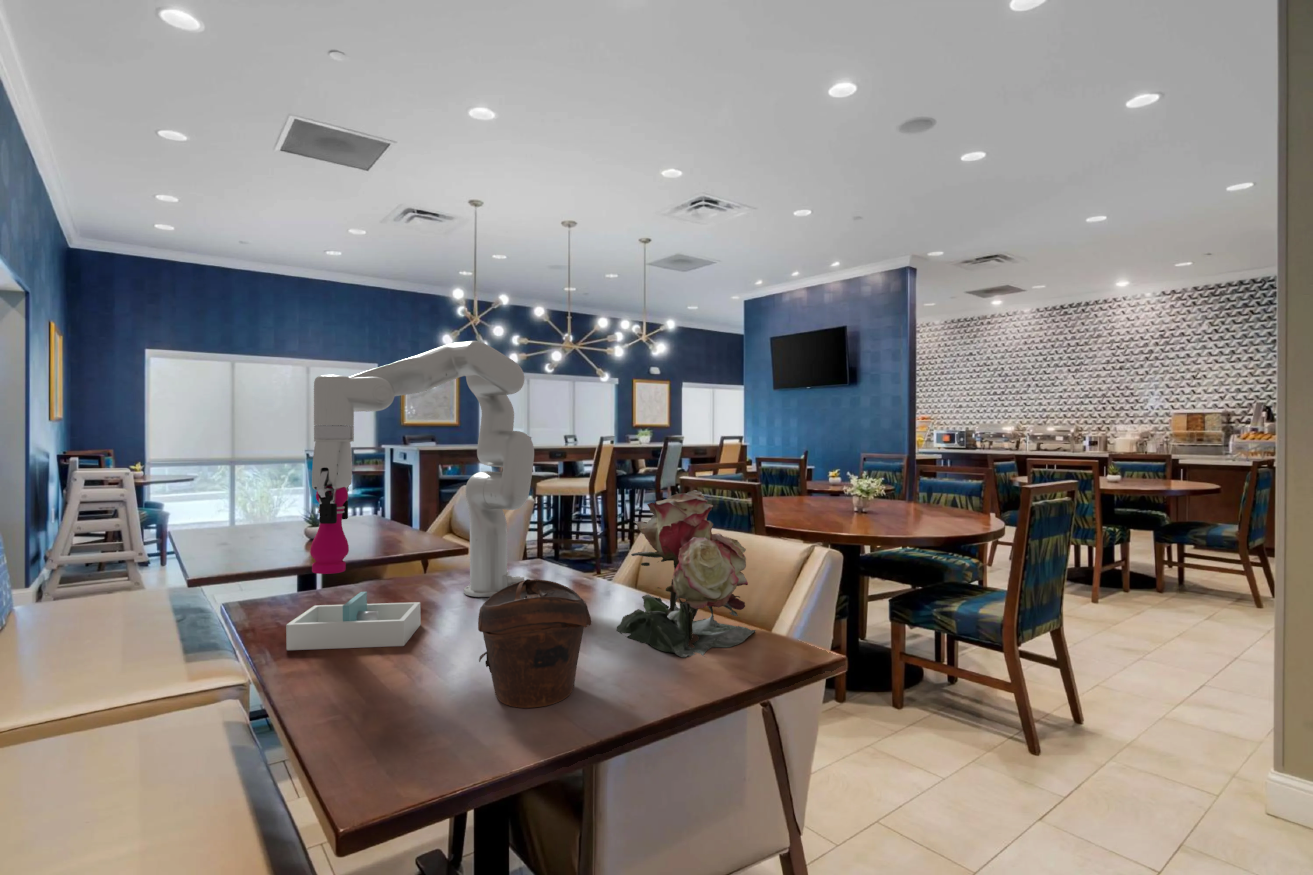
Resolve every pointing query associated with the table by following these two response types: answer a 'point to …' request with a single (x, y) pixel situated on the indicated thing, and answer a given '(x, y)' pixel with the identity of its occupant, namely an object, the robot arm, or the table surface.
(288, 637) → the white tray
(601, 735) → the table surface
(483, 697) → the table surface
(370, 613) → the pusher
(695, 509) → the rose bouquet
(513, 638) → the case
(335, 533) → the pepper mill
